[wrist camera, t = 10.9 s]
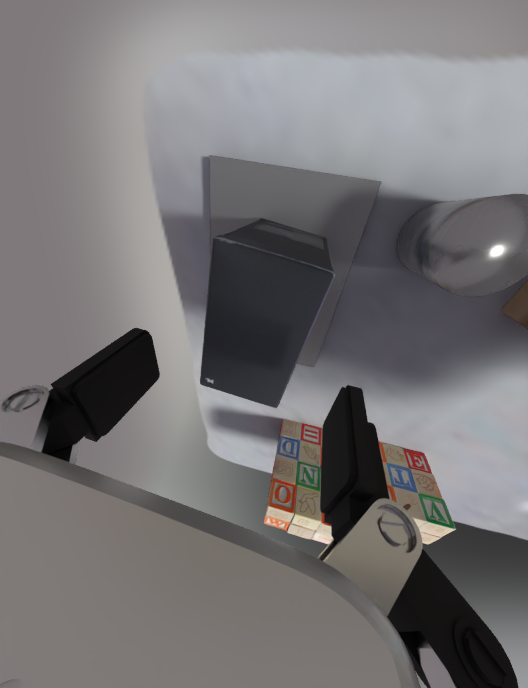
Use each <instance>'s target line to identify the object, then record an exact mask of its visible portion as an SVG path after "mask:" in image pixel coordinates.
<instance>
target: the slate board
mask: <svg viewBox="0 0 528 688" xmlns="http://www.w3.org/2000/svg"><path fill="white" fill-rule="evenodd" d="M380 185H381V182H379V181H373V180H366V179H360V178H353V177H347V176H341V175H334V174H328V173H321V172H315V171H308V170H302V169H296V168H289V167H283V166H276V165H270V164H263V163H257V162H250V161H244V160H238V159H231V158H225V157H218V156H212V155H210V241H211V252H212V239H213V237H214V236H217V235H223V234H225V233H229V232H232V231H234V230H236V229H239V228H241V227H243V226H246V225H248V224H251V223H252V222H255V221H257V220H258V219H260V218H263V219H266V220H270V221H273V222H277V223H279V224H283V225H286V226H289V227H293V228H296V229H299V230H303V231H306V232H309V233H312V234H315V235H318V236H322V237H324V238H326V239H327V243H328V248H329V253H330V257H331V261H332V265H333V269H334V273H335V277H334V280H333V282H332V284H331V287H330V289H329V291H328V294H327V296H326V298H325V300H324V303H323V305H322V307H321V309H320V312H319V314H318V316H317V318H316V320H315V323H314V325H313V327H312V330H311V332H310V334H309V336H308V339H307V341H306V343H305V345H304V348H303V350H302V352H301V354H300V357H299V359H298V361H297V363H298V364H302V365H306V366H310V367H314V366H315V363H316V361H317V358H318V355H319V352H320V350H321V347H322V344H323V341H324V339H325V336H326V333H327V330H328V328H329V325H330V322H331V319H332V317H333V314H334V311H335V308H336V306H337V303H338V300H339V297H340V295H341V292H342V289H343V286H344V284H345V281H346V278H347V275H348V273H349V270H350V267H351V264H352V262H353V259H354V256H355V253H356V251H357V248H358V245H359V242H360V240H361V237H362V234H363V231H364V229H365V226H366V223H367V220H368V218H369V215H370V212H371V209H372V207H373V204H374V201H375V198H376V196H377V193H378V190H379V187H380Z"/></svg>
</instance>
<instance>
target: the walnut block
mask: <svg viewBox="0 0 528 688" xmlns="http://www.w3.org/2000/svg"><path fill="white" fill-rule="evenodd" d="M501 312H503V313H504V314H506V315H507V316H509V317H510V318H512V319H513V320H515V321H516V322H518V323H520V324H521V325H523V326H524V327H526V328H527V329H528V280H527V281H526V282H525V284H524V285H523V286H522V287H521V288H520V289H519V291H518V292H517V293H516V294H515V295H514V296H513V298H512V299H511V300H510V301H509V302H508V303H507V305H506V306H505V307H504V308H503V309H502V310H501Z"/></svg>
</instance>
